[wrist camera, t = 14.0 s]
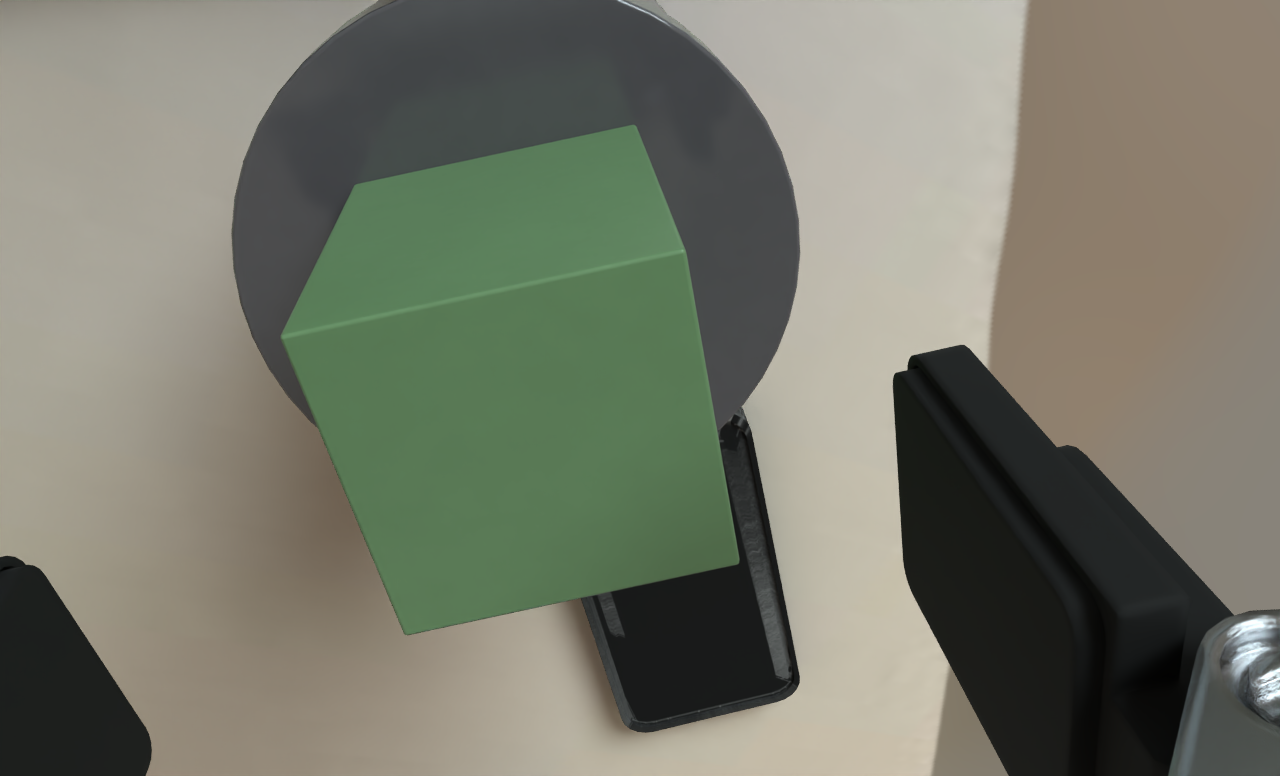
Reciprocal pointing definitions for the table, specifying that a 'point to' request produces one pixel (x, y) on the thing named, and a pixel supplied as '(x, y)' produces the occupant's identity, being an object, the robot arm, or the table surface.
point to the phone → (703, 621)
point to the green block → (515, 382)
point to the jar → (519, 118)
